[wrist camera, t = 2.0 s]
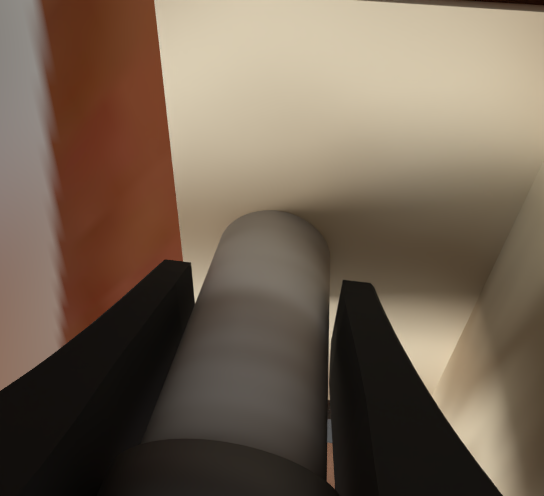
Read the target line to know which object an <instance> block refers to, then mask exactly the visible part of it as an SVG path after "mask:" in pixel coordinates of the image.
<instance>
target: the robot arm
mask: <svg viewBox="0 0 544 496" xmlns="http://www.w3.org/2000/svg"><path fill="white" fill-rule="evenodd" d="M194 305H195V298H194V288H193V278H192V267H191V262H182V261H173V260H164V261H163V262H162V263H160V264H159V265H158V266H157V267H156V268H155V269H153V270H152V271H151V272H150V273H149V274H148V275H147V276H146V277H145V278H144V279H142V280H141V281H140V282H139V283H138V284H137V285H136V286H135V287H134V288H132V289H131V290H130V291H129V292H128V293H127V294H126V295H125V296H123V297H122V298H121V299H120V300H119V301H118V302H117V303H115V304H114V305H113V306H112V307H111V308H110V309H108V310H107V311H106V312H105V313H104V314H103V315H101V316H100V317H99V318H98V319H97V320H96V321H94V322H93V323H92V324H91V325H89V326H88V327H87V328H86V329H84V330H83V331H82V332H81V333H79V334H78V335H77V336H76V337H74V338H73V339H72V340H70V341H69V342H68V343H67V344H65V345H64V346H63V347H61V348H60V349H59V350H58V351H56V352H55V353H54V354H52V355H51V356H50V357H48V358H47V359H46V360H44V361H43V362H41V363H40V364H39V365H37V366H36V367H35V368H33V369H32V370H30V371H29V372H27V373H26V374H25V375H23V376H22V377H20V378H19V379H17V380H16V381H14V382H13V383H11V384H10V385H9V386H7V387H5V388H4V389H2V390H1V391H0V496H97V494H98V491H99V489H100V487H101V485H102V482H103V480H104V478H105V475H106V473H107V471H108V468H109V466H110V464H111V463H112V461H113V460H114V458H116V457H117V456H118V455H119V454H120V453H122V452H123V451H125V450H127V449H129V448H131V447H134V446H137V445H139V444H141V442H142V439H143V437H144V434H145V432H146V429H147V426H148V424H149V421H150V419H151V416H152V414H153V411H154V408H155V406H156V403H157V401H158V398H159V396H160V393H161V390H162V388H163V385H164V383H165V380H166V378H167V375H168V372H169V370H170V367H171V365H172V362H173V360H174V357H175V354H176V352H177V349H178V347H179V344H180V342H181V339H182V336H183V334H184V331H185V329H186V326H187V324H188V321H189V318H190V316H191V313H192V311H193V308H194ZM329 394H330V411H331V428H332V444H333V461H334V477H335V490H336V491H337V492H338V494H339V495H340V496H503V495H502V494H501V492H500V491H499V490H498V488H497V487H496V486H495V485H494V483H493V482H492V481H491V479H490V478H489V477H488V475H487V474H486V473H485V472H484V470H483V469H482V468H481V466H480V465H479V464H478V463H477V461H476V460H475V458H474V457H473V456H472V454H471V453H470V452H469V450H468V449H467V447H466V446H465V445H464V443H463V442H462V441H461V439H460V438H459V436H458V435H457V434H456V432H455V431H454V429H453V428H452V426H451V425H450V423H449V422H448V420H447V419H446V417H445V416H444V414H443V413H442V411H441V410H440V408H439V407H438V405H437V404H436V402H435V401H434V399H433V397H432V396H431V394H430V393H429V391H428V389H427V388H426V386H425V385H424V383H423V381H422V380H421V378H420V376H419V375H418V373H417V371H416V370H415V368H414V366H413V364H412V362H411V361H410V359H409V357H408V355H407V354H406V352H405V350H404V348H403V346H402V345H401V343H400V341H399V339H398V337H397V335H396V333H395V331H394V329H393V327H392V325H391V323H390V321H389V319H388V317H387V315H386V313H385V311H384V309H383V306H382V304H381V302H380V300H379V297H378V295H377V293H376V290H375V288H374V286H373V285H372V284H371V283H367V282H358V281H350V280H343V281H342V286H341V292H340V297H339V302H338V307H337V312H336V317H335V322H334V328H333V333H332V338H331V349H330V369H329Z"/></svg>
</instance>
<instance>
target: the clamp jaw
mask: <svg viewBox="0 0 544 496" xmlns="http://www.w3.org/2000/svg"><path fill="white" fill-rule="evenodd" d="M154 1H155V10H156V19H157V28H158V37H159V46H160V55H161V64H162V73H163V82H164V91H165V100H166V109H167V118H168V127H169V136H170V145H171V154H172V163H173V173H174V182H175V191H176V200H177V209H178V218H179V227H180V236H181V245H182V254H183V262H191V267H192V278H193V288H194V298H195V305H194V308H193V311H192V313H191V316H190V318H189V321H188V324H187V326H186V329H185V331H184V334H183V336H182V339H181V342H180V344H179V347H178V349H177V352H176V354H175V357H174V360H173V362H172V365H171V367H170V370H169V372H168V375H167V378H166V380H165V383H164V385H163V388H162V390H161V393H160V396H159V398H158V401H157V403H156V406H155V408H154V411H153V414H152V416H151V419H150V421H149V424H148V426H147V429H146V432H145V434H144V437H143V439H142V442H141V444H139V445H137V446H134V447H131V448H129V449H127V450H125V451H123V452H122V453H120V454H119V455H118V456H117V457H116V458H114V460H113V461H112V463H111V464H110V466H109V468H108V471H107V473H106V475H105V478H104V480H103V482H102V485H101V487H100V489H99V491H98V494H97V496H340V495H339V494H338V492H337V491H336V490H335V489H334V488H333V487H332V486H331V485H330V484H329V483H327V482H326V480H327V422H328V400H330V394H329V369H330V349H331V338H332V333H333V328H334V322H335V317H336V312H337V307H338V302H339V297H340V292H341V286H342V281H343V280H350V281H358V282H367V283H371V284H372V285H373V286H374V288H375V290H376V293H377V295H378V297H379V300H380V302H381V304H382V306H383V309H384V311H385V313H386V315H387V317H388V319H389V321H390V323H391V325H392V327H393V329H394V331H395V333H396V335H397V337H398V339H399V341H400V343H401V345H402V346H403V348H404V350H405V352H406V354H407V355H408V357H409V359H410V361H411V362H412V364H413V366H414V368H415V370H416V371H417V373H418V375H419V376H420V378H421V380H422V381H423V383H424V385H425V386H426V388H427V389H428V391H429V393H430V394H431V396H432V397H433V399H434V401H435V402H436V404H437V405H438V407H439V408H440V410H441V411H442V413H443V414H444V416H445V417H446V419H447V420H448V422H449V423H450V425H451V426H452V428H453V429H454V431H455V432H456V434H457V435H458V436H459V438H460V439H461V441H462V442H463V443H464V445H465V446H466V447H467V449H468V450H469V452H470V453H471V454H472V456H473V457H474V458H475V460H476V461H477V463H478V464H479V465H480V466H481V468H482V469H483V470H484V472H485V473H486V474H487V475H488V477H489V478H490V479H491V481H492V482H493V483H494V485H495V486H496V487H497V488H498V490H499V491H500V492H501V494H502V495H503V496H544V5H529V4H513V3H497V2H481V1H465V0H154Z"/></svg>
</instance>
